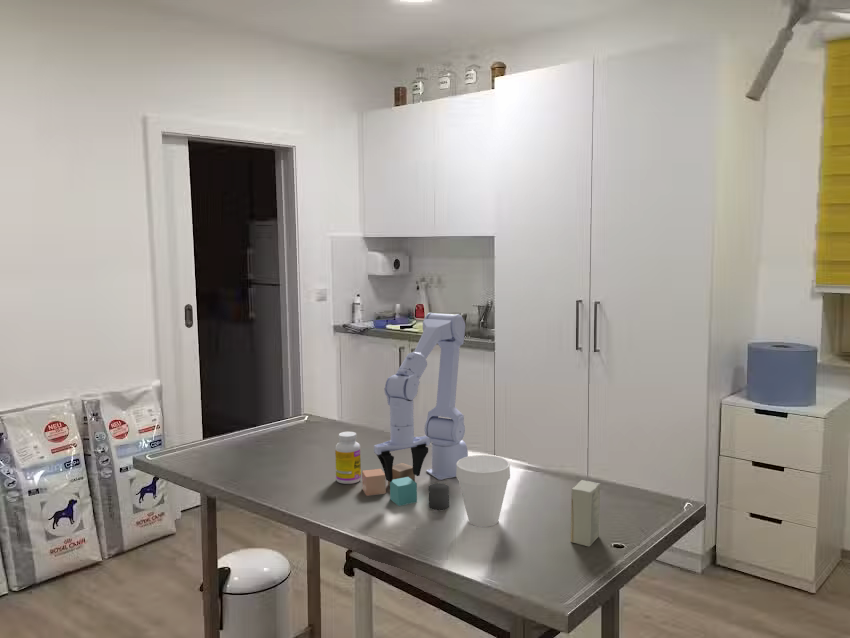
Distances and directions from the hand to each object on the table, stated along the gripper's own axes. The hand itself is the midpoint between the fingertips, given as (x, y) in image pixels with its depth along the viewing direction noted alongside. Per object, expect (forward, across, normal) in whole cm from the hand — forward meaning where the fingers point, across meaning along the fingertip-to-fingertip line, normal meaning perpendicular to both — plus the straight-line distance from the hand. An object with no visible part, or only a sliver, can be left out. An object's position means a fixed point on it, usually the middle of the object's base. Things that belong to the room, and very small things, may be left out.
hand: (402, 477), depth 178 cm
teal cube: (+6, 0, 0) cm, 6 cm away
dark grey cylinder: (+6, -6, +8) cm, 11 cm away
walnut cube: (+6, -5, -10) cm, 12 cm away
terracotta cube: (+6, +3, -10) cm, 12 cm away
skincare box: (+6, -22, +40) cm, 47 cm away
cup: (+6, -10, +21) cm, 24 cm away
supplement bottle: (+6, +6, -20) cm, 22 cm away
